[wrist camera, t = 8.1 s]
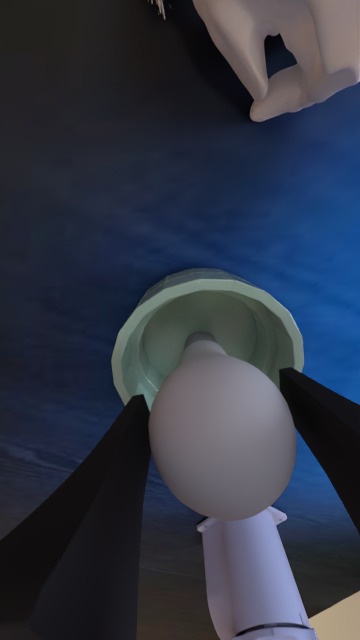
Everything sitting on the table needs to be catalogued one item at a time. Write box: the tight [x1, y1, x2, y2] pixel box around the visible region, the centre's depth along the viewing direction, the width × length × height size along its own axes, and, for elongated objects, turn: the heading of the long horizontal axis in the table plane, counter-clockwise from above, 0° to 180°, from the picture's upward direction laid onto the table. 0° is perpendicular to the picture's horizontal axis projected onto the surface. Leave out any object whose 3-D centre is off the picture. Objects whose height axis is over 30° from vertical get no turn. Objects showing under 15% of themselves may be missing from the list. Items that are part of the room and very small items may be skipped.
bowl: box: [111, 268, 304, 412], centre depth 15 cm, size 12×12×5 cm
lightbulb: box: [148, 331, 297, 521], centre depth 11 cm, size 6×6×11 cm
